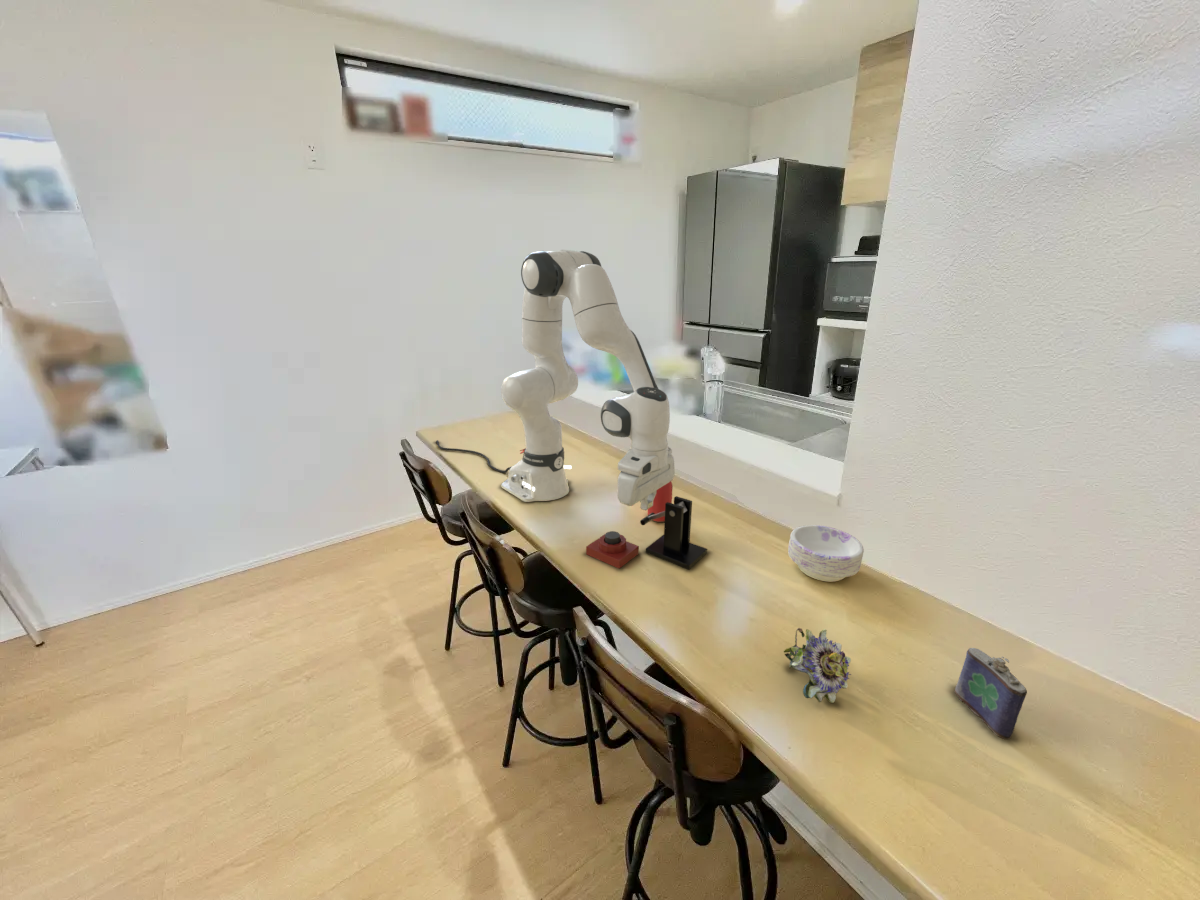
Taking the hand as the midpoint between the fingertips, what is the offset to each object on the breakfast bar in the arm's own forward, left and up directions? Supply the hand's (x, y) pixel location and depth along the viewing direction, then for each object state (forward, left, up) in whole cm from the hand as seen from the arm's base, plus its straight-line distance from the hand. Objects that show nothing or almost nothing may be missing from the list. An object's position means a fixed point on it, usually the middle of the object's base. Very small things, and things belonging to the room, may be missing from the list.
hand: (646, 507), depth 122 cm
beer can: (-4, +13, -10) cm, 17 cm away
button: (-3, -10, -6) cm, 12 cm away
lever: (+6, 0, -1) cm, 6 cm away
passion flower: (+47, -21, -10) cm, 52 cm away
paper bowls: (+39, +14, -10) cm, 42 cm away
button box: (-3, -10, -10) cm, 14 cm away
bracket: (+9, 0, -10) cm, 13 cm away
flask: (+70, -11, -10) cm, 71 cm away
